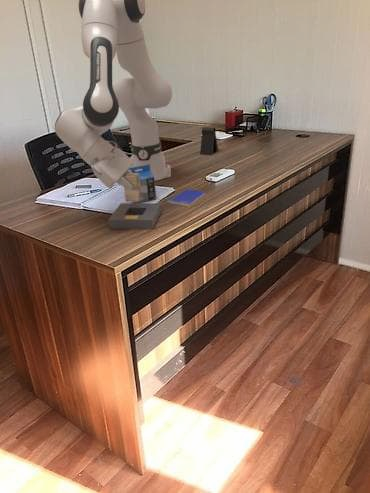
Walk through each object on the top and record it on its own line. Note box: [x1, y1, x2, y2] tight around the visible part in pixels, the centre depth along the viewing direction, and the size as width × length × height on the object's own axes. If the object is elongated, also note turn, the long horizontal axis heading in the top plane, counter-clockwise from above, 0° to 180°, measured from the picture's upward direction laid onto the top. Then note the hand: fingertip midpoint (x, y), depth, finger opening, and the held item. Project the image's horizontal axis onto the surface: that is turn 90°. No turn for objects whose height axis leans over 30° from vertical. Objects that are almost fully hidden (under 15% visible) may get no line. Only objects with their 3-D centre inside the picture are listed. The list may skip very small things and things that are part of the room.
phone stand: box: [199, 126, 219, 156], centre depth 208 cm, size 9×6×12 cm, turn 154°
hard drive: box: [168, 189, 206, 207], centre depth 155 cm, size 2×8×12 cm
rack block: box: [107, 202, 162, 230], centre depth 140 cm, size 14×14×3 cm
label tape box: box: [129, 164, 157, 203], centre depth 154 cm, size 9×4×12 cm, turn 114°
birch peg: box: [122, 173, 141, 202], centre depth 135 cm, size 4×4×8 cm
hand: (134, 185), depth 135 cm, fingers closed on birch peg, 4 cm apart
